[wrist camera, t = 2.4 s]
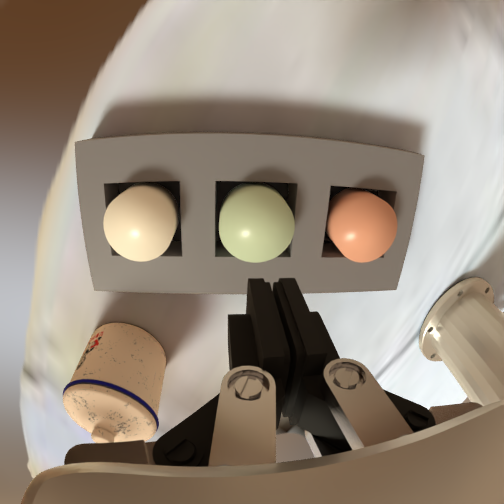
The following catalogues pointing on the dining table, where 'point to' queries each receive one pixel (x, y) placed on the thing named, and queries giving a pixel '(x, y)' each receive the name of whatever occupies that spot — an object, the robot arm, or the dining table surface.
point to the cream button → (142, 221)
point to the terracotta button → (360, 224)
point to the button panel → (243, 169)
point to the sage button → (255, 222)
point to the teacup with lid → (117, 384)
